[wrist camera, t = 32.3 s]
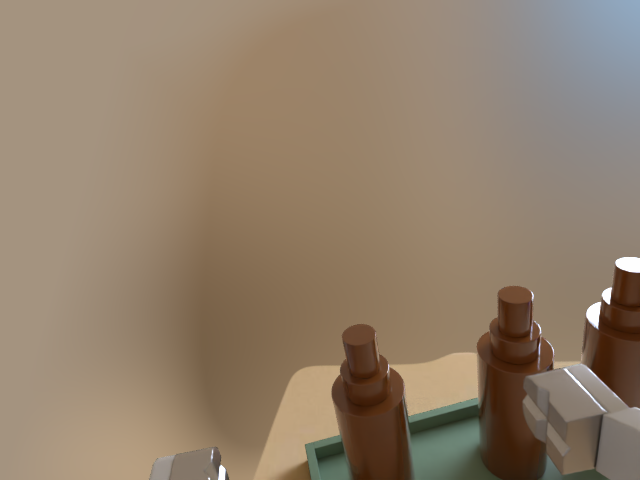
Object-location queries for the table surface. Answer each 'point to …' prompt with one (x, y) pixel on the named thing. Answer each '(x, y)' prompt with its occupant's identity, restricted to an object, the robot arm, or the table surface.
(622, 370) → the row bottle
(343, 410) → the amber bottle
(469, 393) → the table surface
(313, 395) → the table surface
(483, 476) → the tray
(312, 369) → the table surface
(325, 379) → the table surface
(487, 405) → the row bottle
